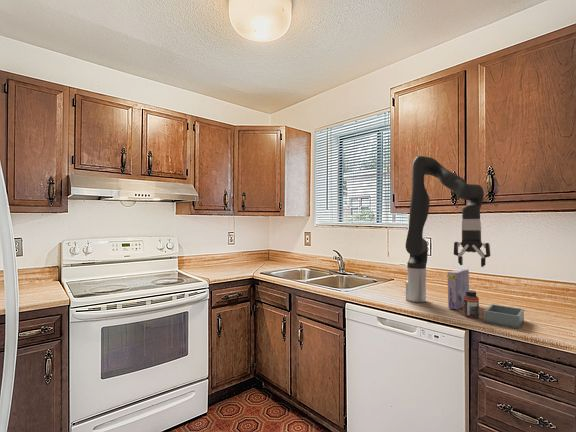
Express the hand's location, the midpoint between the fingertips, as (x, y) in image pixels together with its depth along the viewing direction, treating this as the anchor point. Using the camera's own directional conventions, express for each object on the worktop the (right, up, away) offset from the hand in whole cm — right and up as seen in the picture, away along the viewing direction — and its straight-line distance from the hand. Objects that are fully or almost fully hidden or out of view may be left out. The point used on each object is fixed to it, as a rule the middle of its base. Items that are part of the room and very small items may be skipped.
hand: (471, 265), depth 152 cm
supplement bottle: (0, -23, 0) cm, 23 cm away
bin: (+10, -23, -7) cm, 26 cm away
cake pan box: (+3, -23, +18) cm, 29 cm away
